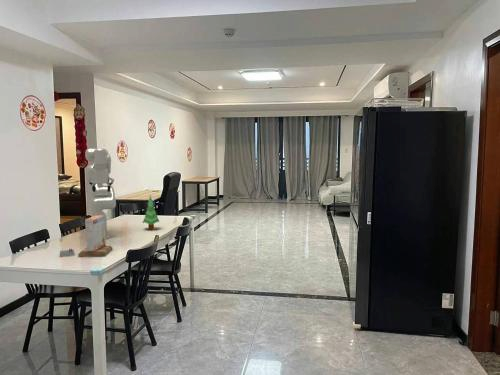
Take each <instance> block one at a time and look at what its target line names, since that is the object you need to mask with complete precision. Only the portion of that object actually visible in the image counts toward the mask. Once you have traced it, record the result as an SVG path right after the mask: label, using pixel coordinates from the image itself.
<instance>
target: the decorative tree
mask: <svg viewBox="0 0 500 375" xmlns="http://www.w3.org/2000/svg"><path fill="white" fill-rule="evenodd" d="M151 196H152V195H151V194H149V199H148V203H147V208H146V212H145V214H144V215H145V216H144V218H143V220H142V223H143V224H144V223H146V224H148V231H154V230H155V224H157V223H159V222H160V220H159V217H158V215H157V212H156V210H155V207H154V203H153V199H152V197H151ZM153 229H154V230H153Z"/></svg>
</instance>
